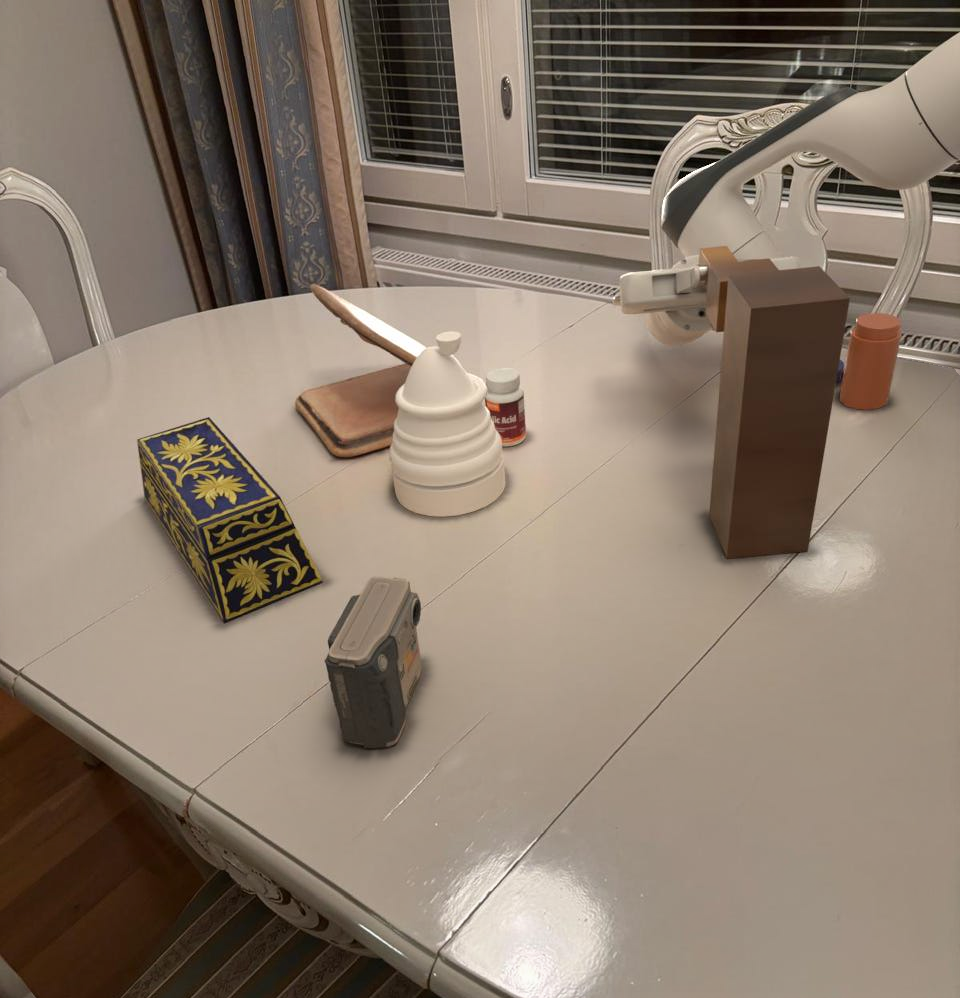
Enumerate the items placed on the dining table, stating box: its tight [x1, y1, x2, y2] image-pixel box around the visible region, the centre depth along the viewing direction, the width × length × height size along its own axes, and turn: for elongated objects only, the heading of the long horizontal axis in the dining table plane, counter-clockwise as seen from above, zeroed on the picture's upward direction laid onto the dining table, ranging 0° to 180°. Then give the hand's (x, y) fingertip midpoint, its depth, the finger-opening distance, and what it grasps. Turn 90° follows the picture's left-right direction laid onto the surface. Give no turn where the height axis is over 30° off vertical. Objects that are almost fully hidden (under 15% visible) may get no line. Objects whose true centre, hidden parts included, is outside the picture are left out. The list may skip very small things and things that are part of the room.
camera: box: [324, 576, 423, 749], centre depth 76 cm, size 11×6×10 cm, turn 164°
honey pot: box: [389, 330, 507, 518], centre depth 100 cm, size 13×13×18 cm
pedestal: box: [708, 265, 851, 560], centre depth 85 cm, size 8×8×25 cm
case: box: [294, 283, 427, 458], centre depth 118 cm, size 20×21×16 cm
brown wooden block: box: [699, 246, 779, 333], centre depth 95 cm, size 16×6×5 cm, turn 1°
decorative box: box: [136, 416, 324, 624], centre depth 99 cm, size 11×30×9 cm, turn 31°
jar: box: [838, 312, 903, 411], centre depth 110 cm, size 6×6×10 cm
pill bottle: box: [484, 367, 527, 447], centre depth 111 cm, size 5×5×8 cm
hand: (722, 271), depth 97 cm, fingers closed on brown wooden block, 3 cm apart
